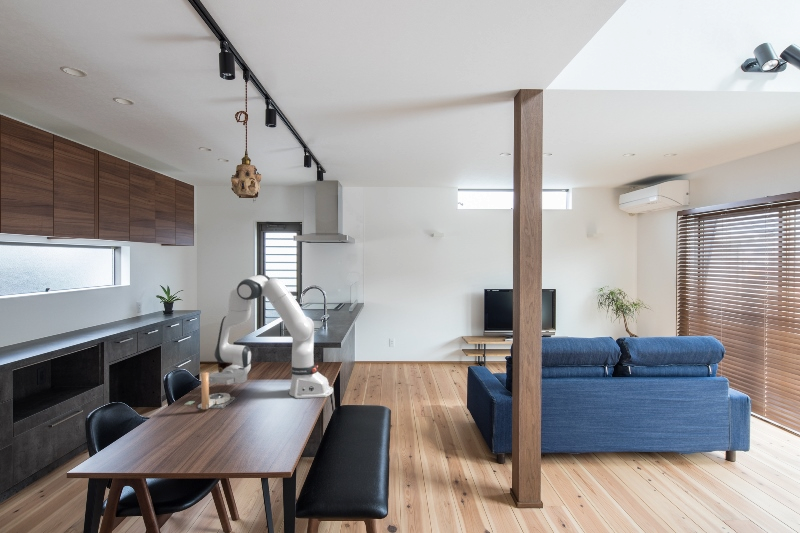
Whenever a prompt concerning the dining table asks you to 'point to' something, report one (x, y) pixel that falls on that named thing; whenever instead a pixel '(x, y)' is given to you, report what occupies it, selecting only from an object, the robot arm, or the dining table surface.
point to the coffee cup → (222, 366)
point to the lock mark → (189, 403)
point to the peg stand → (207, 398)
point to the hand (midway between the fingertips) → (216, 382)
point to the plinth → (220, 403)
